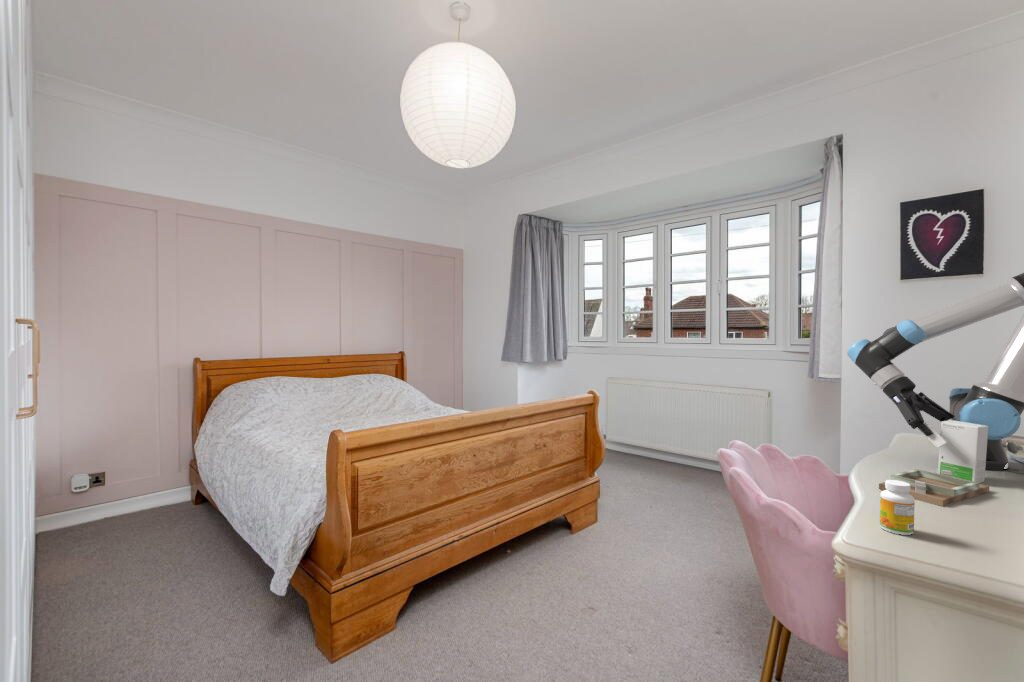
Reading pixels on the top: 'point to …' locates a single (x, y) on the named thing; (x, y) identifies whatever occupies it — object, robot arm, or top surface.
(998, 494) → the top surface
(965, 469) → the skincare box
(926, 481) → the board
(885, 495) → the supplement bottle
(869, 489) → the top surface
